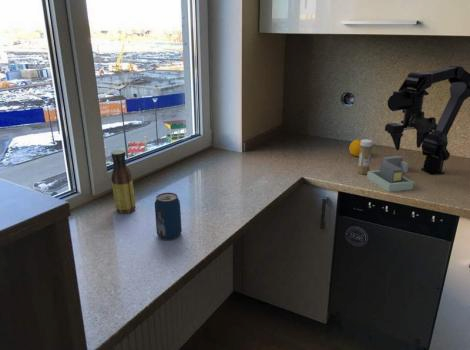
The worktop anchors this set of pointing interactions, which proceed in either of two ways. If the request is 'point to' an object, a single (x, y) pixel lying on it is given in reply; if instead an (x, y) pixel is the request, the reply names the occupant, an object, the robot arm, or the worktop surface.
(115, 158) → the sauce bottle
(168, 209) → the soda can
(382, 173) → the grey block
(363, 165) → the sprinkles bottle
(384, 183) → the tray
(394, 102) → the robot arm
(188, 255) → the worktop surface
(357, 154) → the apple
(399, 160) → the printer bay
